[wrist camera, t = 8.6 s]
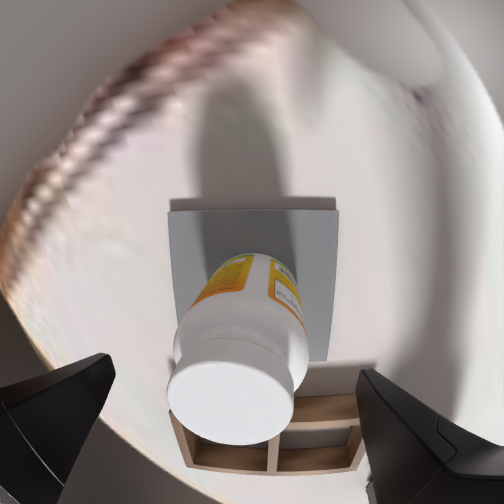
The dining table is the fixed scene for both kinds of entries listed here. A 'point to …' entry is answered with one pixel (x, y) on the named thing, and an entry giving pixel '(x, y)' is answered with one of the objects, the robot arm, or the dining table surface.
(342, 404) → the brown two-compartment frame
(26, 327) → the dining table surface
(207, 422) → the supplement bottle
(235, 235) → the coaster
